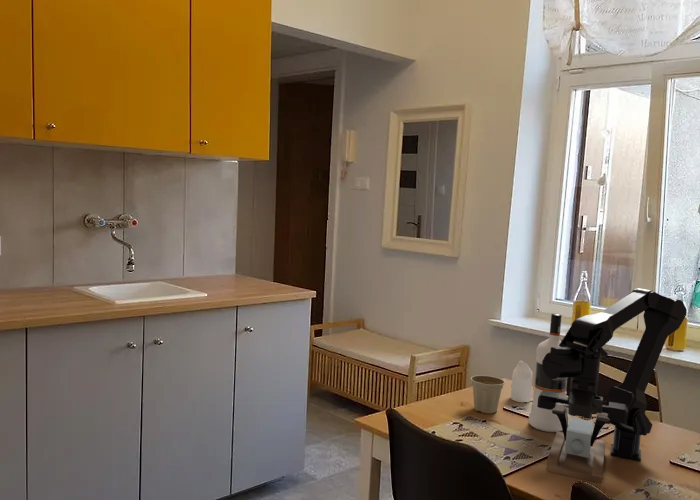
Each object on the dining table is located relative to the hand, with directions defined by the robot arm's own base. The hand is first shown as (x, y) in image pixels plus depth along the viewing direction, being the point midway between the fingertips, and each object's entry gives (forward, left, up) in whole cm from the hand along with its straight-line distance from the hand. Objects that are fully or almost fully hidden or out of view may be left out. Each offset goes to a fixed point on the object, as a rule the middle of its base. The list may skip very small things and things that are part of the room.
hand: (578, 443), depth 139 cm
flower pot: (-24, -26, -4) cm, 36 cm away
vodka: (-20, -9, -4) cm, 22 cm away
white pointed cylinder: (-40, -19, -4) cm, 44 cm away
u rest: (0, 0, -4) cm, 4 cm away
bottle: (+1, 0, -1) cm, 2 cm away
